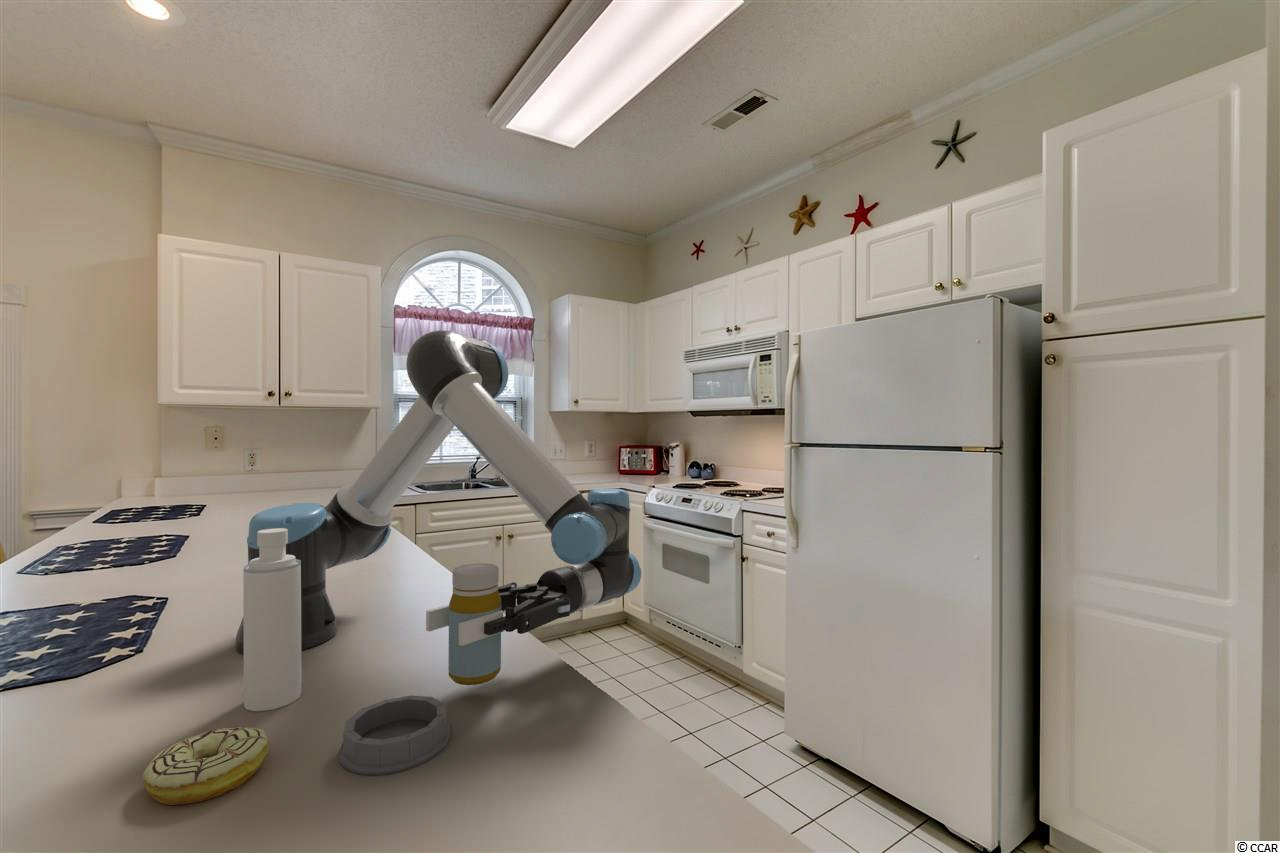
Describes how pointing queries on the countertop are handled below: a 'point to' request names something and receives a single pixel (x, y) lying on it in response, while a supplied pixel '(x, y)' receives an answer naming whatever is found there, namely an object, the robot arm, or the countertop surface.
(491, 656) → the bottle
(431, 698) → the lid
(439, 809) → the countertop surface
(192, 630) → the countertop surface
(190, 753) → the decorated donut
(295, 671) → the spray bottle
